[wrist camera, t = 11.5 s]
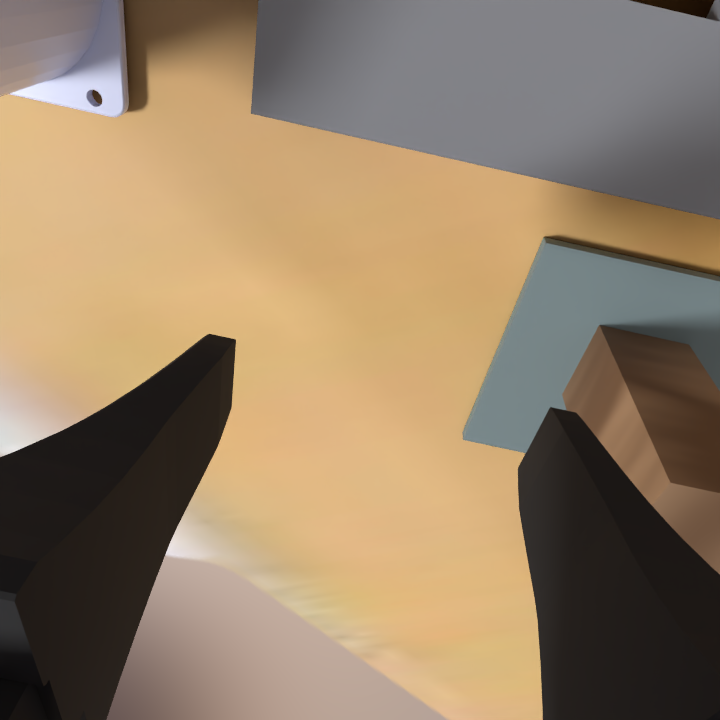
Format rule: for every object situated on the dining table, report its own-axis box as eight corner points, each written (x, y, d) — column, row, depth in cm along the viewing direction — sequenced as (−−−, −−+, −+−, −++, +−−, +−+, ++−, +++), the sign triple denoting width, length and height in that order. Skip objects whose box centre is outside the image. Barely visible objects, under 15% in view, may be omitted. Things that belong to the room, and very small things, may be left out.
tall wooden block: (562, 394, 24) (610, 558, 17) (599, 324, 22) (670, 482, 15) (643, 412, 24) (722, 582, 17) (688, 344, 22) (797, 509, 15)
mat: (462, 432, 26) (463, 439, 26) (543, 236, 20) (545, 242, 20) (668, 476, 26) (671, 484, 26) (807, 296, 21) (815, 302, 20)
